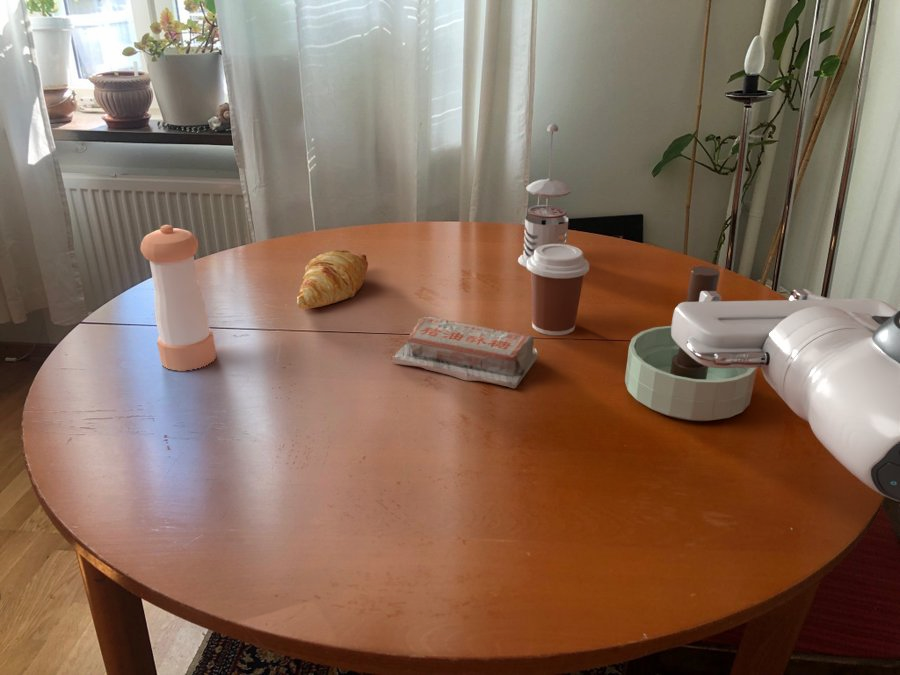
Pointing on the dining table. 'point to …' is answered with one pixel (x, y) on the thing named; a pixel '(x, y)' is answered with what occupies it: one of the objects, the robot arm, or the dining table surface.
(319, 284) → the croissant
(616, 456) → the dining table surface
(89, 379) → the dining table surface
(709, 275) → the brown tall cylinder
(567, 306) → the coffee cup
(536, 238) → the french press
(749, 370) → the bowl
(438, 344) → the packaged product
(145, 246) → the pepper shaker
